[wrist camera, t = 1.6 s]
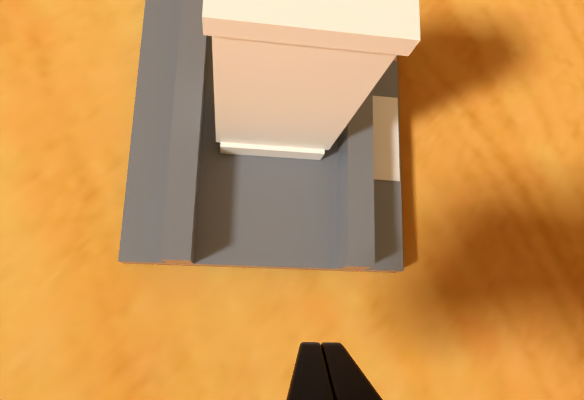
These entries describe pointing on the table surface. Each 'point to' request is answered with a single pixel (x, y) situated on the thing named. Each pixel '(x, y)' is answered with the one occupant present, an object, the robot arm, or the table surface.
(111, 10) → the table surface
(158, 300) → the table surface
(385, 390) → the table surface
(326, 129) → the tab
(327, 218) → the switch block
